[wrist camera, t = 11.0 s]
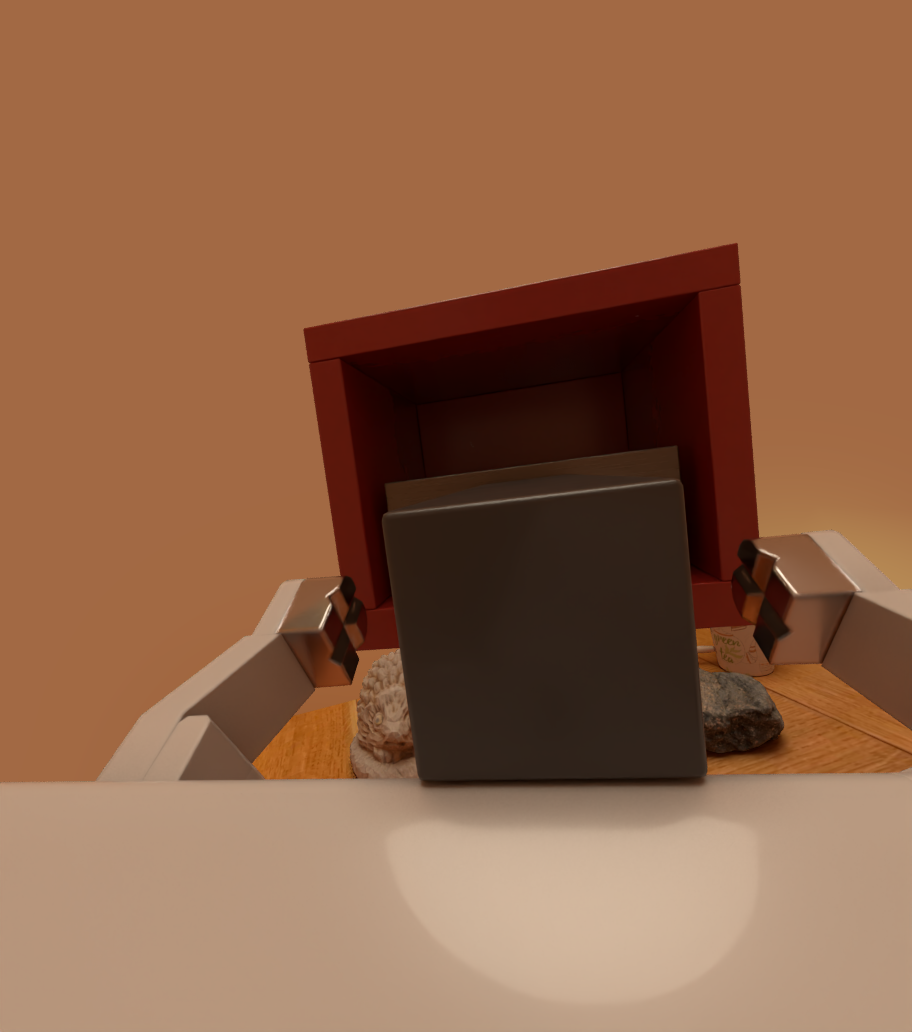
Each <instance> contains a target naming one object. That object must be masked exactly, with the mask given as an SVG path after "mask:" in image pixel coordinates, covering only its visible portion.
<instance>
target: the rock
mask: <svg viewBox="0 0 912 1032" xmlns="http://www.w3.org/2000/svg"><path fill="white" fill-rule="evenodd" d="M699 676H700V688H701V699H702V711H703V722H704V734H705V745H706V750H709V751H712V752H716V753H725V752H729V751H733V750H738V751H746V750H748V749H752V748H754V747H759V746H760V745H761V744H764V743H765V742H766V741H768V740H769V739H770V740H775V739H777V738H778V735H780V733H781V731H782V730H783V728H784V722H783V720H782V717H781V715H780V713H779V711H778V710H777V708H776V706H775V704H774V702H773V701H772V699H771V698H770V696H769V695H768V693H767V692H766V689H765V688H764V686H763V685H762V684H761V683H760V682H758V681H756V680H755V679H754V678H752V677H750V676H748V675H744V674H741V673H735V672H730V673H726V672H713V673H710V672H707V671H704V670H702V669H701V668H699Z"/></svg>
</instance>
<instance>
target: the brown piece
mask: <svg viewBox="0 0 912 1032" xmlns="http://www.w3.org/2000/svg"><path fill="white" fill-rule="evenodd" d="M384 487H385V494H386V501H387V509H388V512H387V513H385V514H384V515H383V518H382V526H383V533H384V540H385V548H386V555H387V562H388V569H389V576H390V583H391V590H392V597H393V605H394V612H395V619H396V626H397V633H398V640H399V647H400V654H401V661H402V669H403V676H404V683H405V690H406V697H407V704H408V711H409V718H410V725H411V733H412V740H413V747H414V754H415V761H416V768H417V774H418V777H419V779H420V780H423V781H474V780H557V779H639V778H701V777H704V776H706V773H707V757H706V745H705V734H704V722H703V711H702V699H701V688H700V676H699V664H698V653H697V641H696V630H695V618H694V607H693V595H692V583H691V572H690V560H689V549H688V537H687V525H686V514H685V502H684V491H683V485H682V483H681V473H680V461H679V450H678V446H676V445H675V446H668V447H660V448H652V449H645V450H637V451H629V452H622V453H614V454H606V455H598V456H591V457H583V458H575V459H568V460H560V461H552V462H545V463H537V464H529V465H522V466H514V467H506V468H499V469H491V470H483V471H476V472H468V473H460V474H453V475H445V476H437V477H430V478H422V479H414V480H406V481H399V482H391V483H385V484H384Z"/></svg>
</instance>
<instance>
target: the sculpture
mask: <svg viewBox="0 0 912 1032" xmlns="http://www.w3.org/2000/svg"><path fill="white" fill-rule="evenodd" d="M362 685H363V689H361V692H360V700H359V701H358V704H357V705H358V706H357V712H358V722H357V725H358V729H359V731H358V733H357V734H356V736H355V737H354V738H353V742H352V743H351V745H350V754H351V755H350V759H351V764H352V766H353V771H354V772H355V774H356V776H357V778H358V779H372V778H419V777H418V774H417V768H416V761H415V754H414V747H413V740H412V733H411V725H410V718H409V711H408V704H407V697H406V690H405V683H404V676H403V669H402V661H401V654H400V649H398V650H396V652H395V653H394V652H390V653H389V655H388V656H387V655H382V656H381V658H380V659H379V660H378V661H374V662H373V664H372V669H369V671H368V675H367V676H366V677H365V678H364V680H363V683H362Z"/></svg>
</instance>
